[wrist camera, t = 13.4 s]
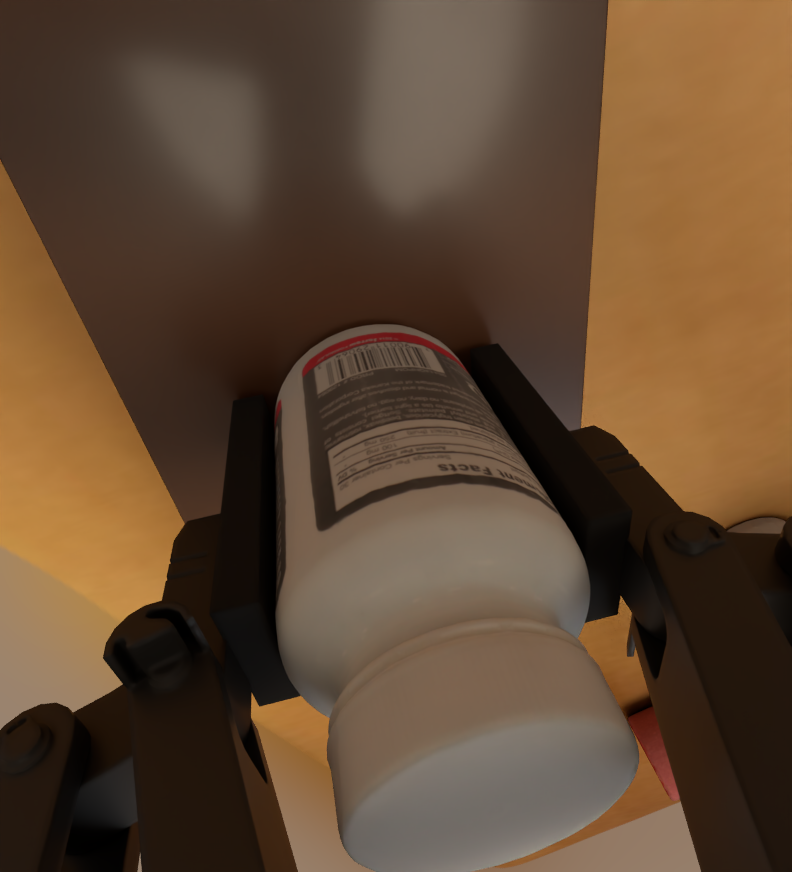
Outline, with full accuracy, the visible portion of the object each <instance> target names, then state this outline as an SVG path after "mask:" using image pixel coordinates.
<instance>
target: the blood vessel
mask: <svg viewBox="0 0 792 872" xmlns="http://www.w3.org/2000/svg"><path fill="white" fill-rule="evenodd" d="M628 721H629V724H630V726H631V728H632V729H633V731H634V733H635V735H636V737H637V739H638V741H639V742H640V744H641V746H642V748H643V750H644V752H645V754H646V755H647V757H648V759H649V761H650V763H651V765H652V767H653V768H654V770H655V772H656V774H657V776H658V778H659V780H660V781H661V783H662V785H663V787H664V789H665V791H666V792H667V794H668V796H669V797H670V799H671V800H673V801H674V800H678V799H680V797H679V794H678V790H677V787H676V783H675V780H674V777H673V773H672V770H671V766H670V763H669V759H668V756H667V753H666V749H665V746H664V742H663V739H662V736H661V732H660V729H659V725H658V722H657V718H656V715H655V712H654V708H653V706H652V707H650V708H647V709H645V710H643V711H641V712H638V713H636V714H634V715H632V716H629V718H628Z"/></svg>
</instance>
